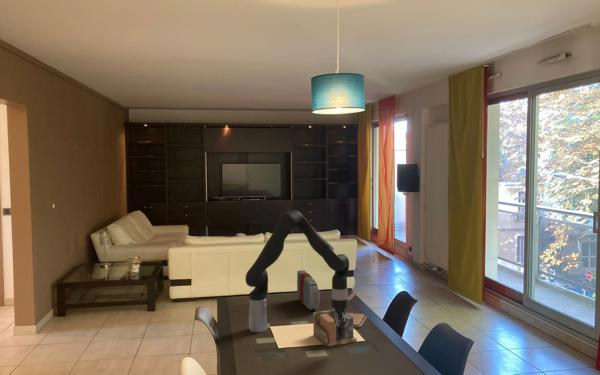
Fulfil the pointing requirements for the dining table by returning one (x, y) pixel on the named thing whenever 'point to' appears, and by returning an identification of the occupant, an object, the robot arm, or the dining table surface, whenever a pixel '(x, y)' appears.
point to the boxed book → (328, 327)
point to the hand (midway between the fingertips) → (339, 333)
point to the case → (357, 318)
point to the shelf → (340, 338)
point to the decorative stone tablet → (307, 290)
